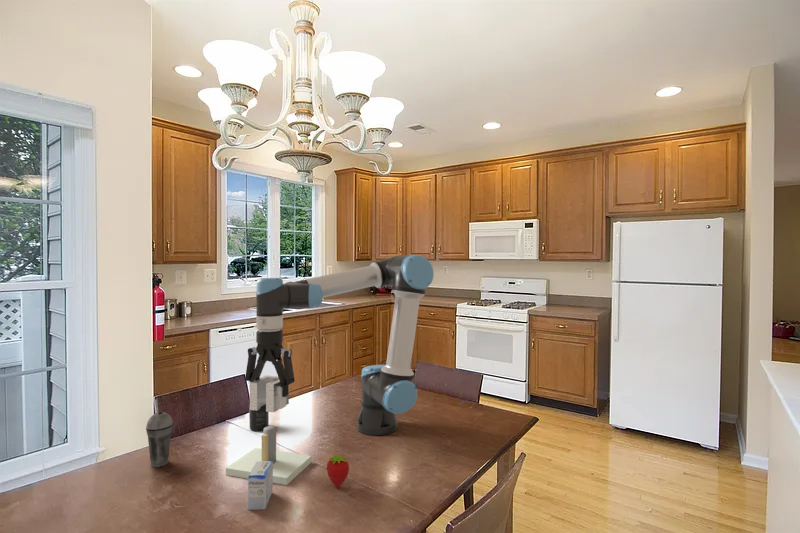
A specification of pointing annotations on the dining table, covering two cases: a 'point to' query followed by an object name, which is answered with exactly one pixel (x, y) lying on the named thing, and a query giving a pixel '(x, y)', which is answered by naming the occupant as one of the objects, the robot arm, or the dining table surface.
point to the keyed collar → (266, 393)
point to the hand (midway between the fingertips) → (269, 405)
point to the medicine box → (260, 485)
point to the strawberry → (337, 470)
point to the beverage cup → (159, 437)
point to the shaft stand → (283, 462)
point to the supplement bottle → (258, 419)
